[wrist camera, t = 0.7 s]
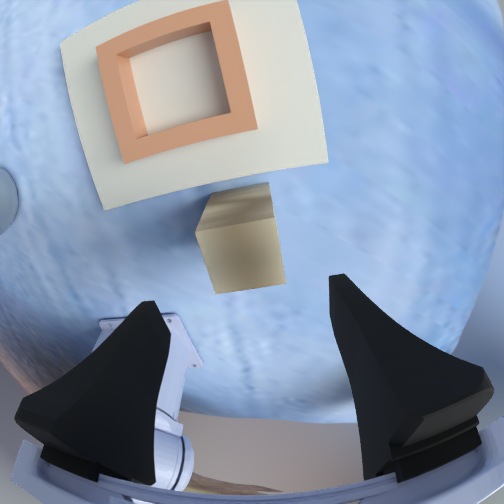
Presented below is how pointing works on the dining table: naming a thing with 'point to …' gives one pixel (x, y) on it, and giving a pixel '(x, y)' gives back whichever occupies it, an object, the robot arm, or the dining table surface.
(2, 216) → the plastic bottle
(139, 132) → the terracotta holder
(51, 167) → the dining table surface
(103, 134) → the cream flat mat
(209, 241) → the birch peg
